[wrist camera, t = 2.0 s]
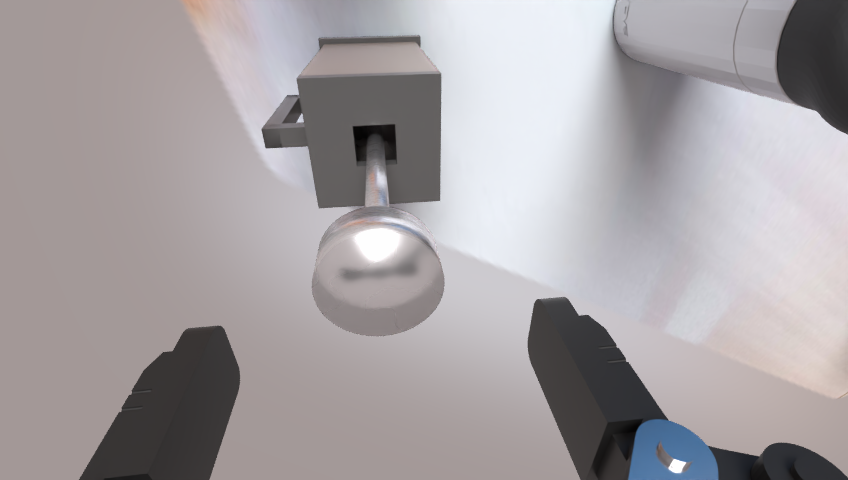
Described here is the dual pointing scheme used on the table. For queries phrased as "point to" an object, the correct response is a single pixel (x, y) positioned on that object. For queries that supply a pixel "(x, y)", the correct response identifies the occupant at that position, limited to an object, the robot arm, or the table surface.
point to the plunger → (377, 255)
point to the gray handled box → (365, 117)
